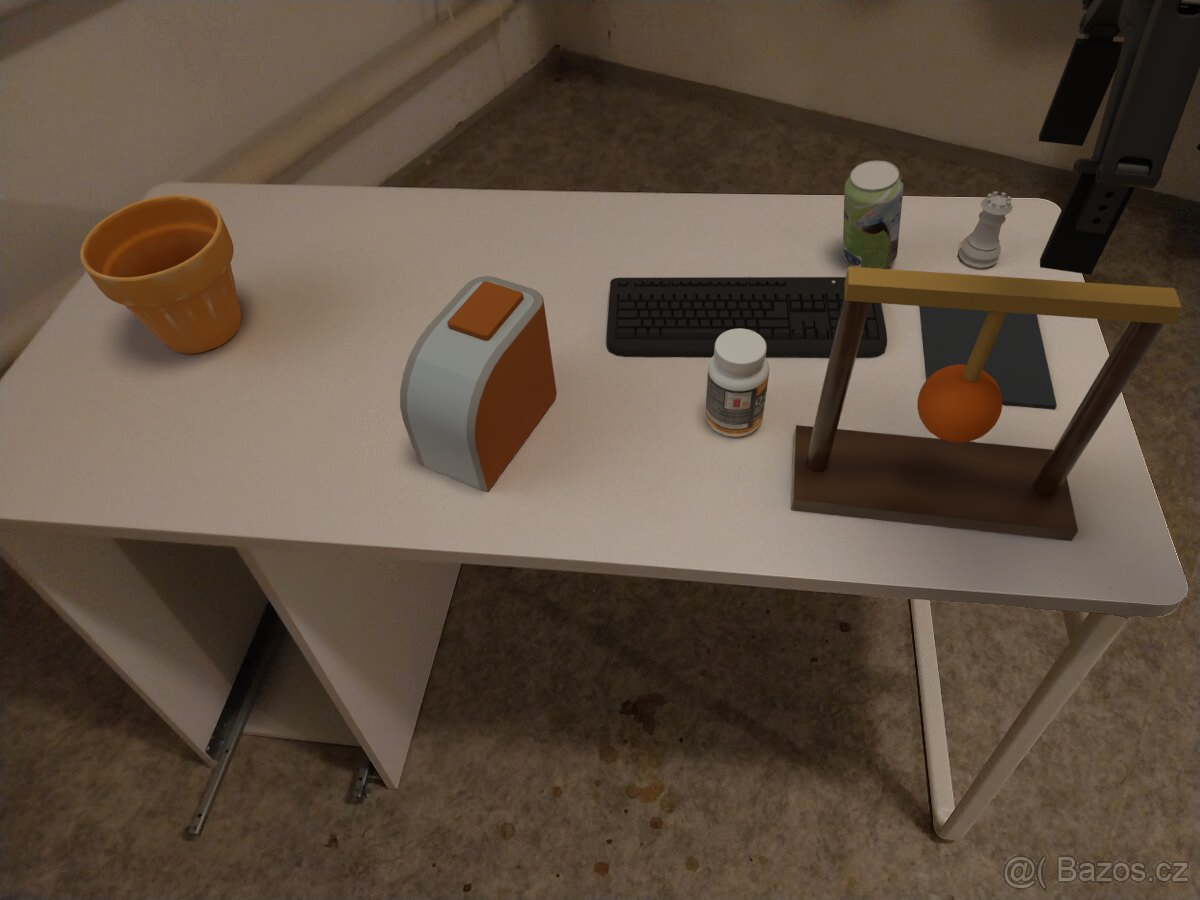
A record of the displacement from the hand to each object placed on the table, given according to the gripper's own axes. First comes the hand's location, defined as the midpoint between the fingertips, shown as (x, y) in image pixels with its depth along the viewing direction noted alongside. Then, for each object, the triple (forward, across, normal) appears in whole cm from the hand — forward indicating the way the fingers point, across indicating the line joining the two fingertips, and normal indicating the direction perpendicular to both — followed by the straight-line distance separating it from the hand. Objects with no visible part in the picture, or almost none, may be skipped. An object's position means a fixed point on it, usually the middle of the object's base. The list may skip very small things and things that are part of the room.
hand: (1062, 199), depth 52 cm
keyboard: (+31, -18, -21) cm, 42 cm away
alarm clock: (+31, +3, -43) cm, 53 cm away
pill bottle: (+31, -4, -19) cm, 37 cm away
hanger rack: (+31, -1, -1) cm, 31 cm away
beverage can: (+31, -32, -10) cm, 46 cm away
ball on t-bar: (+23, -1, -1) cm, 23 cm away
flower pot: (+31, -2, -81) cm, 87 cm away
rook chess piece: (+31, -36, +2) cm, 48 cm away
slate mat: (+31, -22, +3) cm, 38 cm away
